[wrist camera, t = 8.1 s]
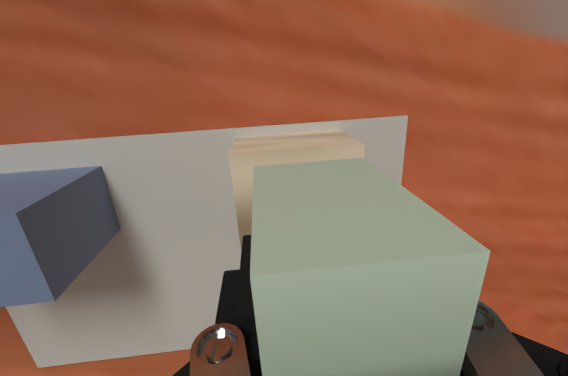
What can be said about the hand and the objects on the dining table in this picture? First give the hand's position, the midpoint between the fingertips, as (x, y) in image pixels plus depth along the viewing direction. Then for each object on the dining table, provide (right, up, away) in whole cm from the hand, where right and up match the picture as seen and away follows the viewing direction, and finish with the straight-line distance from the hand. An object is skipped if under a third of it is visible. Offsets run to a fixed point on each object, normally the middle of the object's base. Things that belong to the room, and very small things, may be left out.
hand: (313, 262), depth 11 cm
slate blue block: (-15, +2, +5) cm, 16 cm away
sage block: (0, 0, 0) cm, 0 cm away
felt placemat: (-6, -1, +7) cm, 10 cm away
